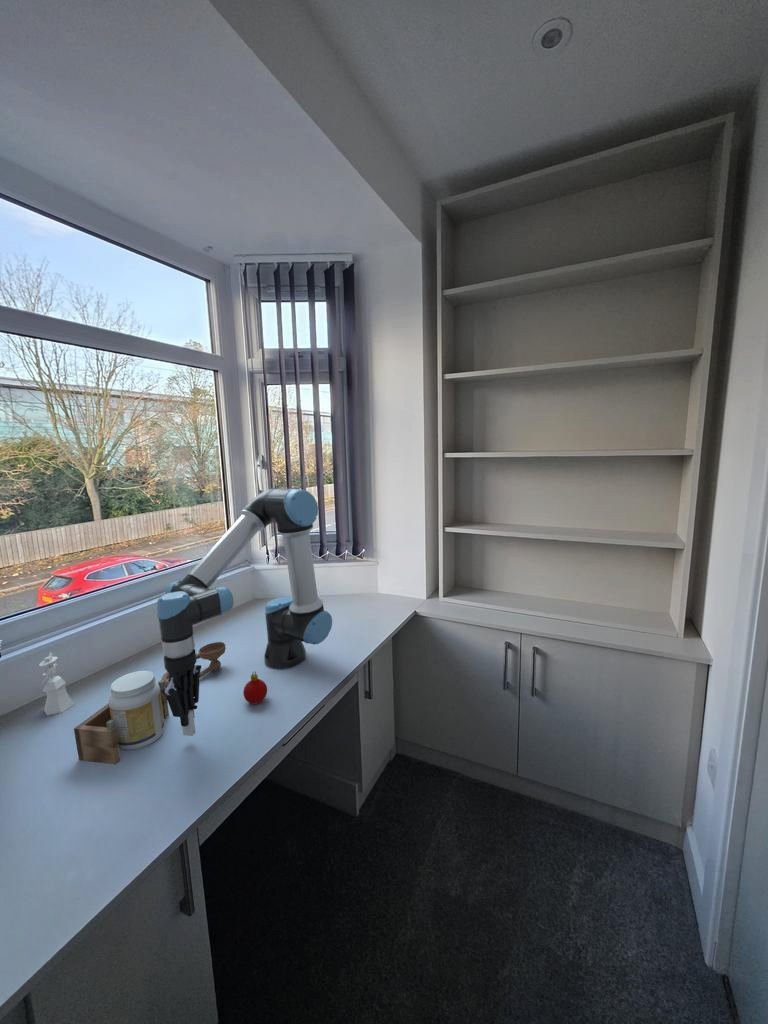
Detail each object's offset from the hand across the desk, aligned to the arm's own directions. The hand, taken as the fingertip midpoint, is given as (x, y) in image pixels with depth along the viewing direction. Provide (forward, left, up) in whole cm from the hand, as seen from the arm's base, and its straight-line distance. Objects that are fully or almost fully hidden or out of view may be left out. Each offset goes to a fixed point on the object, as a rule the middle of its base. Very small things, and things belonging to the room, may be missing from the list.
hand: (189, 733), depth 114 cm
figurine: (+52, -9, -3) cm, 53 cm away
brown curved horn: (+21, -35, -3) cm, 41 cm away
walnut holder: (+20, 0, -3) cm, 20 cm away
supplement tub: (+16, 0, -3) cm, 16 cm away
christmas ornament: (-9, -20, -3) cm, 22 cm away
